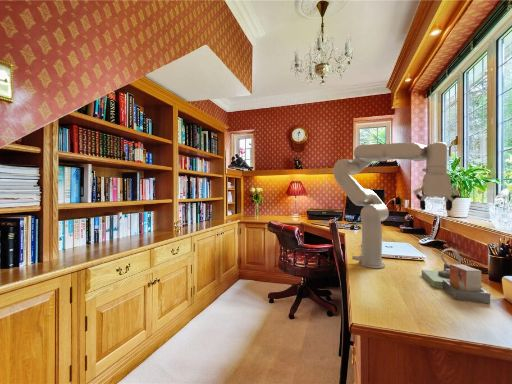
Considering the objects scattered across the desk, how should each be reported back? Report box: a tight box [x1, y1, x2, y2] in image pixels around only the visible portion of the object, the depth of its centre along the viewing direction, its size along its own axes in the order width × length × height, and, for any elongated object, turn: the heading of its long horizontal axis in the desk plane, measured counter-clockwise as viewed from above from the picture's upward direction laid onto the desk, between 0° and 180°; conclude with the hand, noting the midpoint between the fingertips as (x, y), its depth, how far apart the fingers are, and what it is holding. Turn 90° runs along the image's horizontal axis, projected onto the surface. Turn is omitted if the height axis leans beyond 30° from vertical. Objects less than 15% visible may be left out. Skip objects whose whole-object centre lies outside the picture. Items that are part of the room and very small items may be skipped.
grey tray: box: [442, 279, 491, 305], centre depth 97 cm, size 10×12×4 cm
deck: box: [421, 268, 483, 289], centre depth 111 cm, size 16×16×6 cm
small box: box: [449, 263, 482, 292], centre depth 97 cm, size 8×6×10 cm
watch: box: [440, 248, 462, 271], centre depth 126 cm, size 6×8×11 cm
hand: (435, 210), depth 116 cm, fingers open, 9 cm apart
